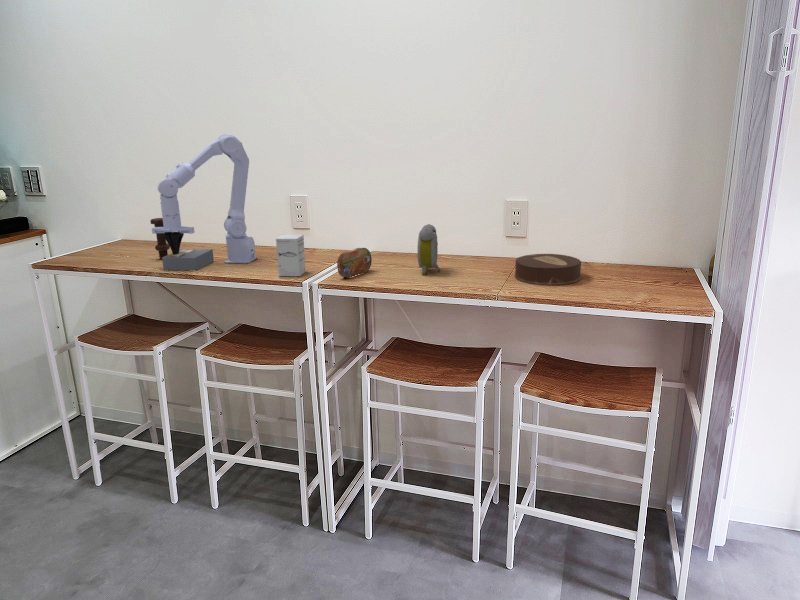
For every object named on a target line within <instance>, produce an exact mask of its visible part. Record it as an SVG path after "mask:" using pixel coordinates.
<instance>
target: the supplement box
mask: <svg viewBox="0 0 800 600" xmlns="http://www.w3.org/2000/svg"><path fill="white" fill-rule="evenodd" d="M304 238H305V237H304V234H281V235H279V236H278V237H276V239H275V243H276V256H277V257H276V259H277V270H278V271H277V272H278V277H297V276H300V277H301V276H302V275H304V274H305V273H306V254H305V241H304V240H305V239H304Z"/></svg>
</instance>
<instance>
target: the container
mask: <svg viewBox="0 0 800 600" xmlns="http://www.w3.org/2000/svg"><path fill="white" fill-rule="evenodd" d="M581 270H582V261H581V259H578V258H577V257H575V256H570V255H566V254H559V253H534V254H526V255H522V256H518V257H517V258H516V259H515V270H514V271H515V272H514V278H515V279H516V280H517V281H519V282H521V283H525V284H530V285H534V286H535V285H537V286H547V287H550V286H552V287H553V286H566V285H571V284H576V283H578V282H580V281H581V280H582V277H581V274H582V273H581V272H582V271H581Z"/></svg>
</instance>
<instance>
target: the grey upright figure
mask: <svg viewBox="0 0 800 600" xmlns="http://www.w3.org/2000/svg"><path fill="white" fill-rule="evenodd" d="M438 246H439V244H438V234H437V229H436V227H435V226H434V225H433V224H430V223H428V224H425V225H424V226H423V227H422V228H421V230H420V231H419V233H418V238H417V263H418V264H417V265H418V267H419V268H421V276H425V273H426V272H427V271H426V270H427V269H434V270H436V271H437V272H438V273H440V272H441V271H442V270H441V268H440V267H439V265H438V253H439V252H438Z"/></svg>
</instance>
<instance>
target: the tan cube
mask: <svg viewBox="0 0 800 600" xmlns="http://www.w3.org/2000/svg"><path fill="white" fill-rule="evenodd" d="M171 253H172V252H171ZM171 253H169V254H168V257H181V256H183V255H185V254H184V253H179V254H176V255H173V253H172V254H171Z"/></svg>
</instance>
